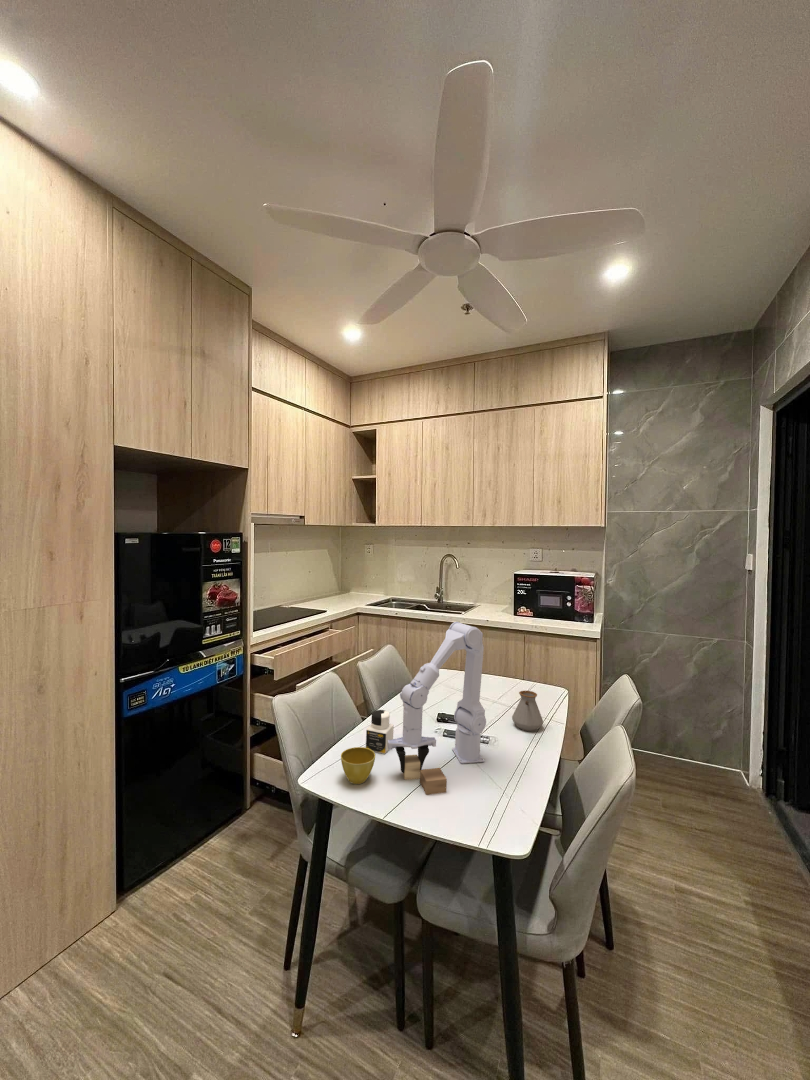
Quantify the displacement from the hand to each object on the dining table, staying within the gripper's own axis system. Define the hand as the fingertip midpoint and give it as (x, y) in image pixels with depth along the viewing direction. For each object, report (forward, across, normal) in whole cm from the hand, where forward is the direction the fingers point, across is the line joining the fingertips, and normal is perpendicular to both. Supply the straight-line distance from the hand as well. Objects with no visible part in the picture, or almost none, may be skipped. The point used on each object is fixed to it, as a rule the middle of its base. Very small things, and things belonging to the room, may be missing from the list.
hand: (410, 770), depth 132 cm
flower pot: (+2, -16, 0) cm, 16 cm away
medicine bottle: (+2, -7, +18) cm, 19 cm away
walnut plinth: (+2, +5, -7) cm, 9 cm away
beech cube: (+1, 0, 0) cm, 1 cm away
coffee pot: (+2, +49, +23) cm, 54 cm away
